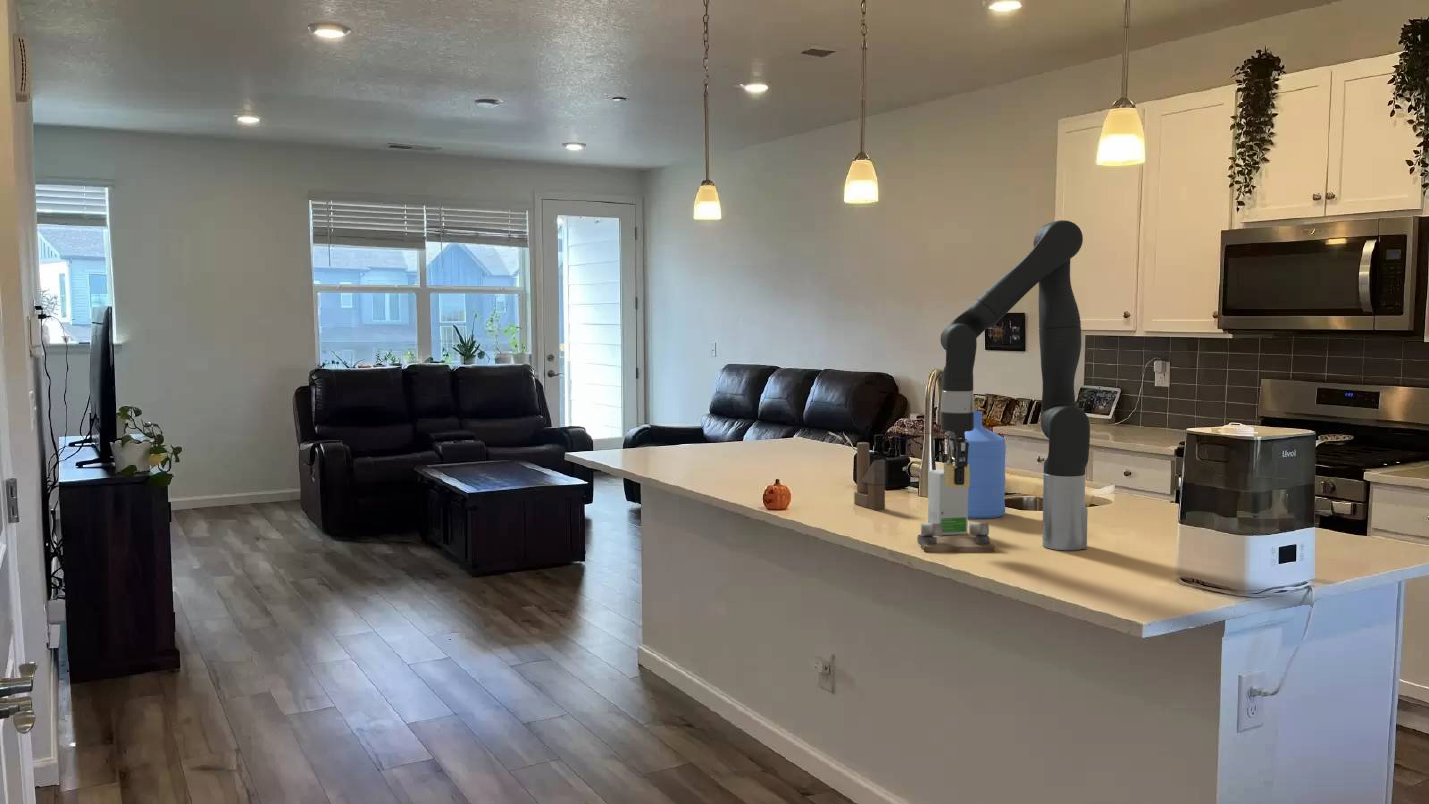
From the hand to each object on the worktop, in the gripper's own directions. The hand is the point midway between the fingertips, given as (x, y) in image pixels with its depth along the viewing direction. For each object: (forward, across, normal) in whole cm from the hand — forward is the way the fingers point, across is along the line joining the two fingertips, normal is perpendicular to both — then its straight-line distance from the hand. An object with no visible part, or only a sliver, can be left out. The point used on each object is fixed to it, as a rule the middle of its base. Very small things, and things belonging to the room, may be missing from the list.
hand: (956, 482), depth 240 cm
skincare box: (+16, +17, -1) cm, 23 cm away
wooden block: (+16, +52, +14) cm, 56 cm away
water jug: (+16, +41, -14) cm, 46 cm away
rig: (+15, +1, 0) cm, 15 cm away
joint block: (+1, 0, 0) cm, 1 cm away
